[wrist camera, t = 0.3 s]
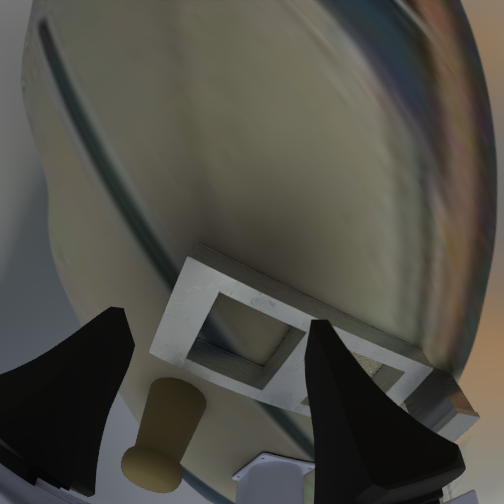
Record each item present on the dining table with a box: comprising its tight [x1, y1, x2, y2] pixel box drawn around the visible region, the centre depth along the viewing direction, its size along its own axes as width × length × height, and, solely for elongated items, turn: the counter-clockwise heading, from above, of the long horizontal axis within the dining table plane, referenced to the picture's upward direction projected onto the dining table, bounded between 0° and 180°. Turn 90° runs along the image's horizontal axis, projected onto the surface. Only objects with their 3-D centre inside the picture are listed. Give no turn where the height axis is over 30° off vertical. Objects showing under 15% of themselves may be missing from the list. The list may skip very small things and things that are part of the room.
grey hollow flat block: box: [149, 243, 434, 417], centre depth 21 cm, size 9×22×3 cm, turn 63°
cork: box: [121, 378, 206, 493], centre depth 21 cm, size 6×6×11 cm
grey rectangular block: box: [404, 367, 480, 442], centre depth 20 cm, size 5×5×7 cm
